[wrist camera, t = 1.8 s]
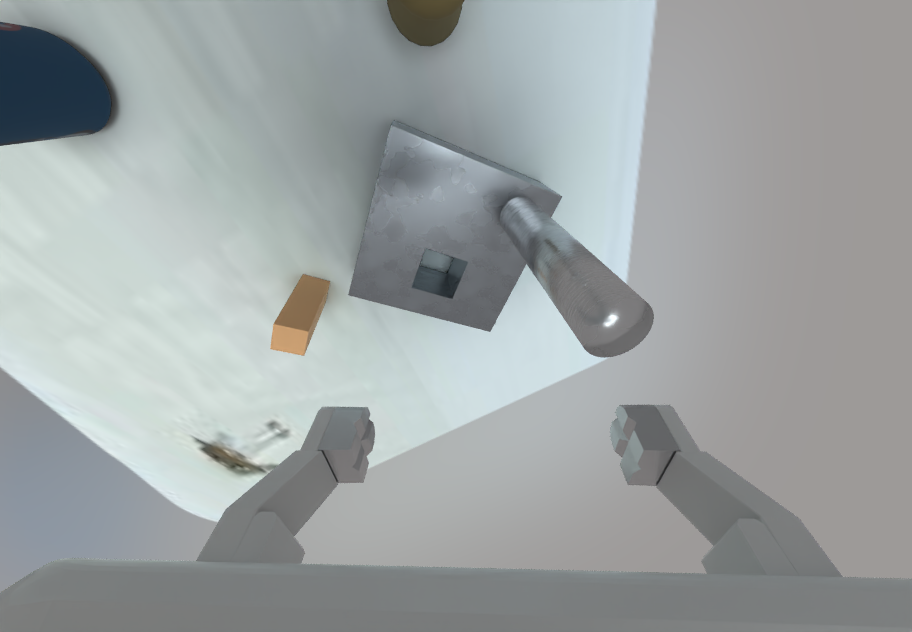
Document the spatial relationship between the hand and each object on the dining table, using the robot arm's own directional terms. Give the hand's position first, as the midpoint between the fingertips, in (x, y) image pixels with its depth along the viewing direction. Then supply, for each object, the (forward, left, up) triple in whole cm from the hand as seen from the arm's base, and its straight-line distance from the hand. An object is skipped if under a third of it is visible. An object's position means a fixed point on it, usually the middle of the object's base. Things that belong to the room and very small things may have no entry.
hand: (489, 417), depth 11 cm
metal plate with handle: (+2, -3, -29) cm, 29 cm away
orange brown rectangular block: (-10, -15, -29) cm, 34 cm away
